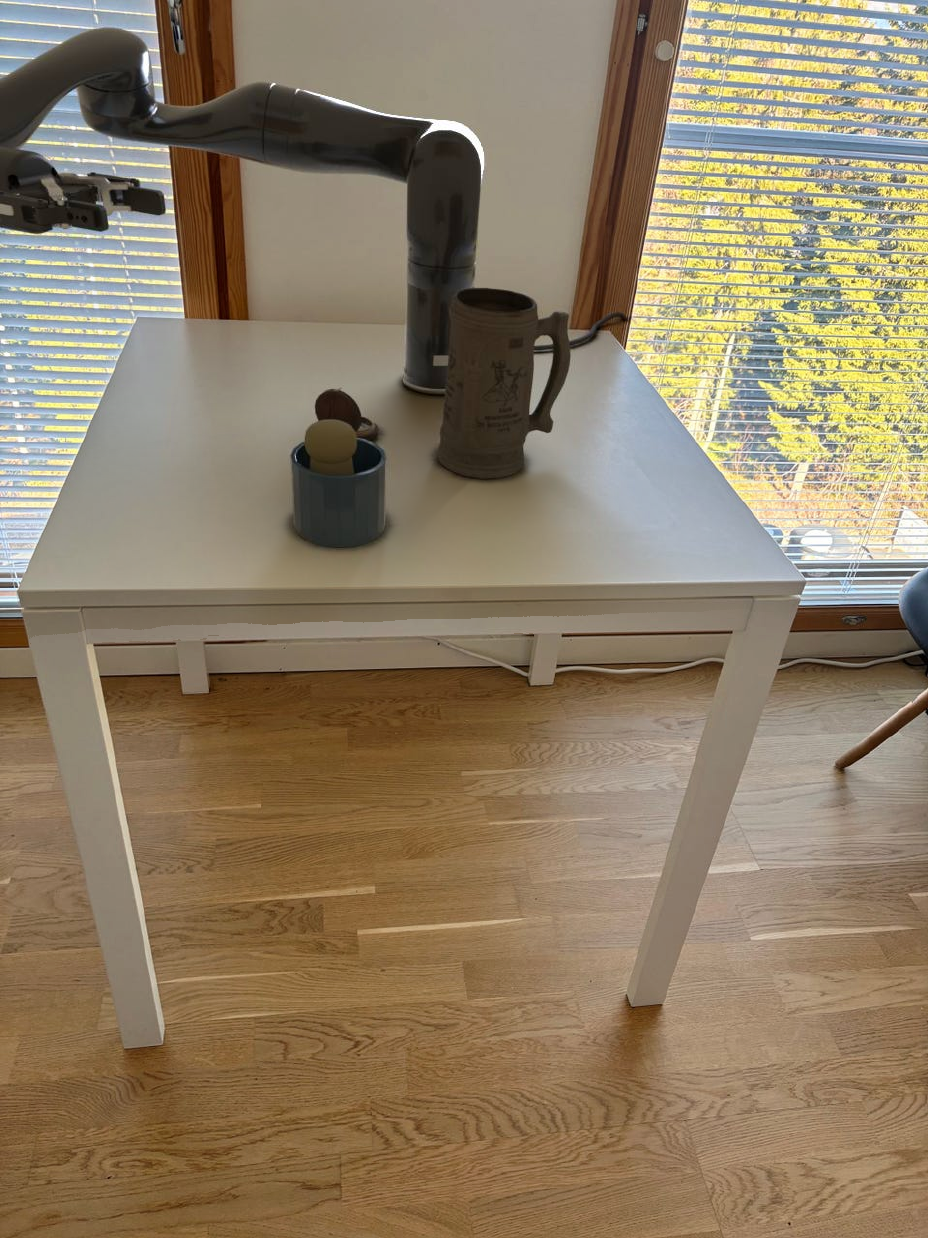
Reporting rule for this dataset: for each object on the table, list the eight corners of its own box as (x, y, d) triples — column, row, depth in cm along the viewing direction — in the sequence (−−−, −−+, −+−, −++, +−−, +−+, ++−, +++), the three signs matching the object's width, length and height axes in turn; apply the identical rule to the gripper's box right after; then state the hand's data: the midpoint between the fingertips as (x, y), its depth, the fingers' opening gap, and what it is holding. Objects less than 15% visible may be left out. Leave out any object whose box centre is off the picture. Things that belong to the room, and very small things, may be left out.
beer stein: (456, 486, 105) (480, 312, 94) (417, 448, 113) (435, 283, 101) (565, 474, 112) (600, 311, 101) (521, 439, 119) (549, 283, 108)
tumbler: (358, 495, 102) (358, 429, 97) (401, 533, 95) (403, 465, 91) (279, 514, 97) (275, 445, 92) (319, 556, 91) (317, 484, 86)
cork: (356, 539, 93) (356, 440, 86) (297, 533, 93) (293, 434, 87) (365, 510, 98) (365, 415, 91) (309, 505, 98) (306, 409, 91)
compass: (386, 430, 117) (388, 375, 112) (356, 453, 111) (356, 396, 106) (333, 416, 119) (332, 362, 115) (300, 438, 113) (298, 382, 109)
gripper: (-68, 154, 83) (76, 178, 79) (44, 137, 94) (176, 157, 90) (-47, 240, 87) (91, 268, 83) (57, 214, 98) (184, 237, 94)
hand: (135, 210), depth 86 cm, fingers open, 8 cm apart
